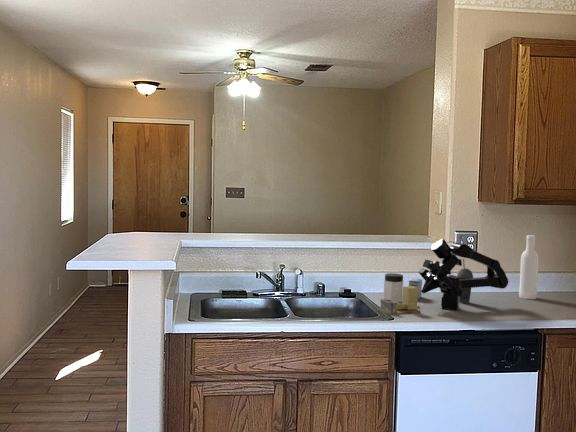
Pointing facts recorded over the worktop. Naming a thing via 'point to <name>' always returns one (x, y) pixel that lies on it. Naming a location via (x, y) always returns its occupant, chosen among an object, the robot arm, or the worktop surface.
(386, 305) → the board
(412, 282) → the medicine box
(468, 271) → the beverage cup
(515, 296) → the worktop surface
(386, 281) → the lidded container
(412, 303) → the tan rectangular block
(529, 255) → the bottle
